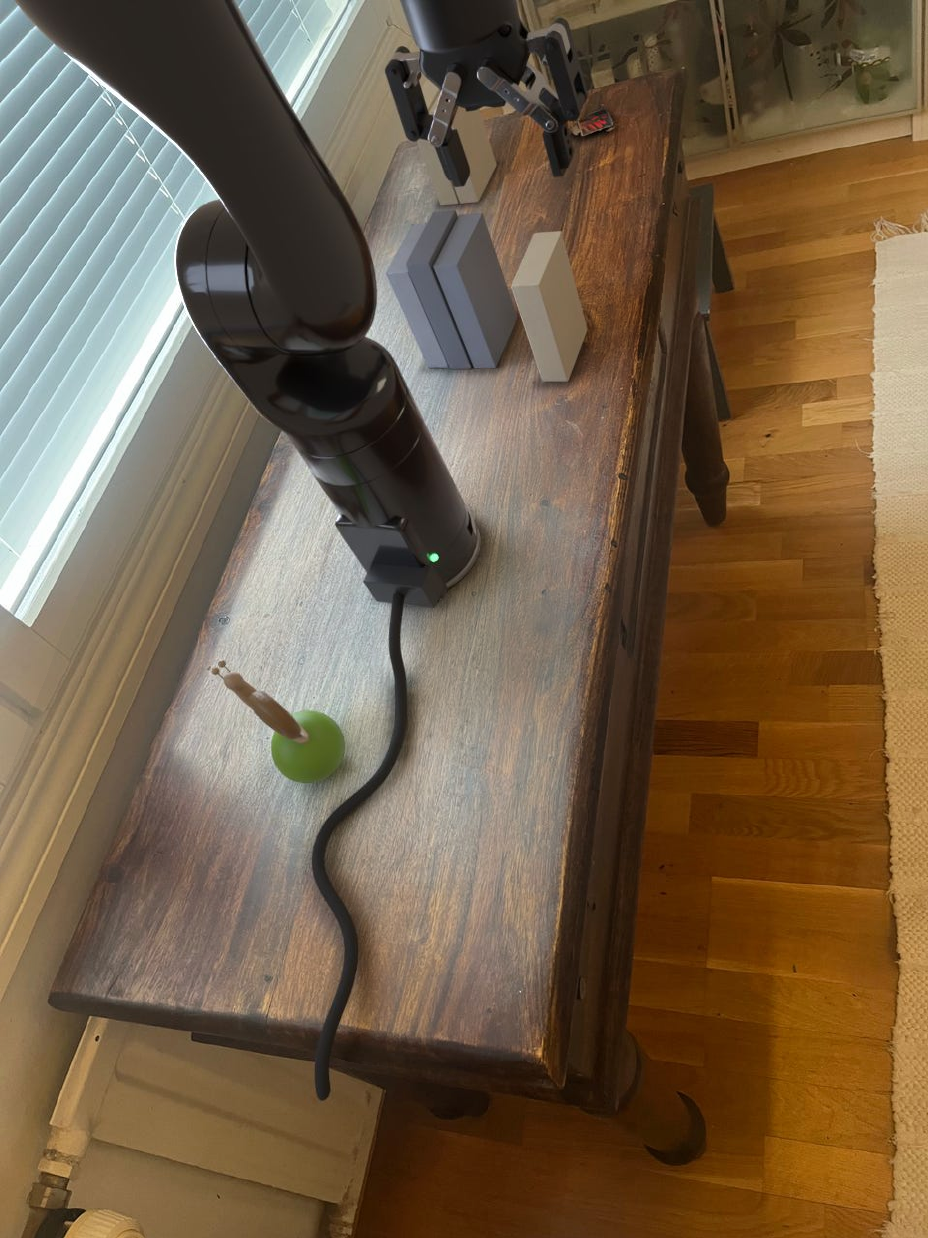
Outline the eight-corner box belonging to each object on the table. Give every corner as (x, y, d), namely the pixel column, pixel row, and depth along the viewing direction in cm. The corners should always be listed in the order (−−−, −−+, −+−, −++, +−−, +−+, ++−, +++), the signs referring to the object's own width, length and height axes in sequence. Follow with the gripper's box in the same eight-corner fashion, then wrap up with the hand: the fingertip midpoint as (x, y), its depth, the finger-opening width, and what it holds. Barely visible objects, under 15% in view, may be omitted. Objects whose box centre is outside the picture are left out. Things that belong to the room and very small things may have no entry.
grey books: (495, 368, 90) (454, 260, 81) (427, 369, 94) (379, 265, 84) (518, 316, 94) (481, 206, 84) (451, 318, 97) (408, 213, 87)
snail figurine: (315, 713, 74) (240, 634, 65) (369, 750, 71) (298, 672, 61) (270, 767, 73) (187, 694, 63) (323, 808, 69) (243, 736, 60)
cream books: (478, 202, 108) (447, 108, 99) (440, 205, 110) (406, 114, 101) (496, 164, 111) (468, 70, 102) (459, 169, 113) (428, 77, 104)
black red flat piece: (602, 108, 110) (602, 104, 109) (621, 125, 107) (620, 121, 106) (567, 127, 110) (566, 123, 110) (584, 144, 107) (583, 140, 106)
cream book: (568, 382, 86) (538, 284, 78) (542, 382, 87) (510, 285, 79) (587, 329, 89) (561, 230, 81) (562, 330, 90) (533, 232, 82)
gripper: (332, 1, 62) (417, 213, 75) (528, -41, 56) (584, 198, 69) (372, -56, 66) (447, 156, 78) (561, -102, 60) (609, 136, 72)
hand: (511, 175), depth 74 cm, fingers open, 8 cm apart
